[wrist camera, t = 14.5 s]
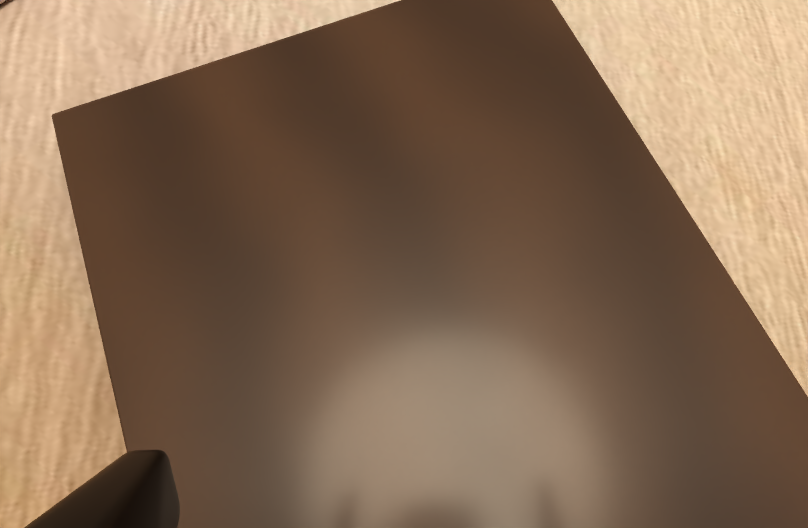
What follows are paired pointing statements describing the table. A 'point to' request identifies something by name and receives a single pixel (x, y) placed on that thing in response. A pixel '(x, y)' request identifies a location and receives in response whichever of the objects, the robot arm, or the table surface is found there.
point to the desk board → (422, 290)
